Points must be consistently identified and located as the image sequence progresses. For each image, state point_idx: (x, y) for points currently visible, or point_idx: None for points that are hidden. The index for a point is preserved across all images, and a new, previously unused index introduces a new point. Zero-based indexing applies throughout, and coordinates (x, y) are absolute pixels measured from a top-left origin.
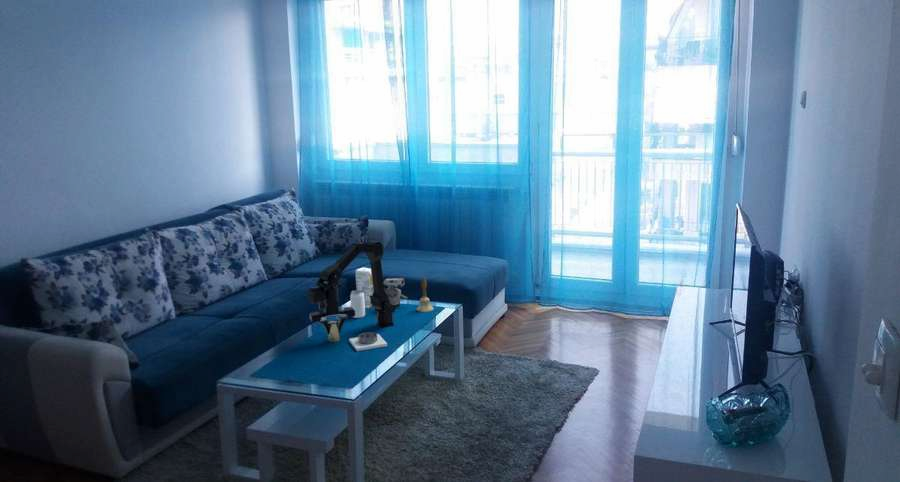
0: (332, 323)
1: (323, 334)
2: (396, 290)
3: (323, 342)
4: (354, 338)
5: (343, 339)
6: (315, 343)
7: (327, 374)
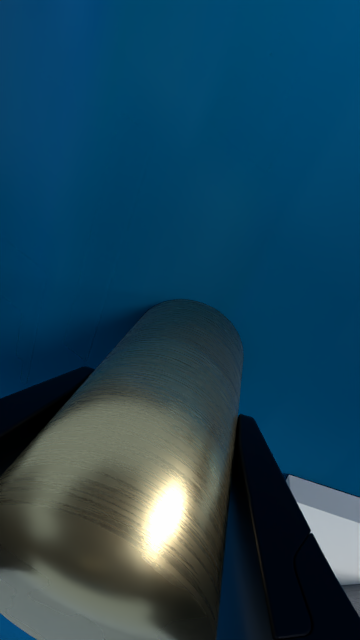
0: (49, 623)
1: (157, 15)
2: None
3: (74, 331)
4: (340, 530)
5: (277, 396)
6: (3, 303)
7: (9, 634)
